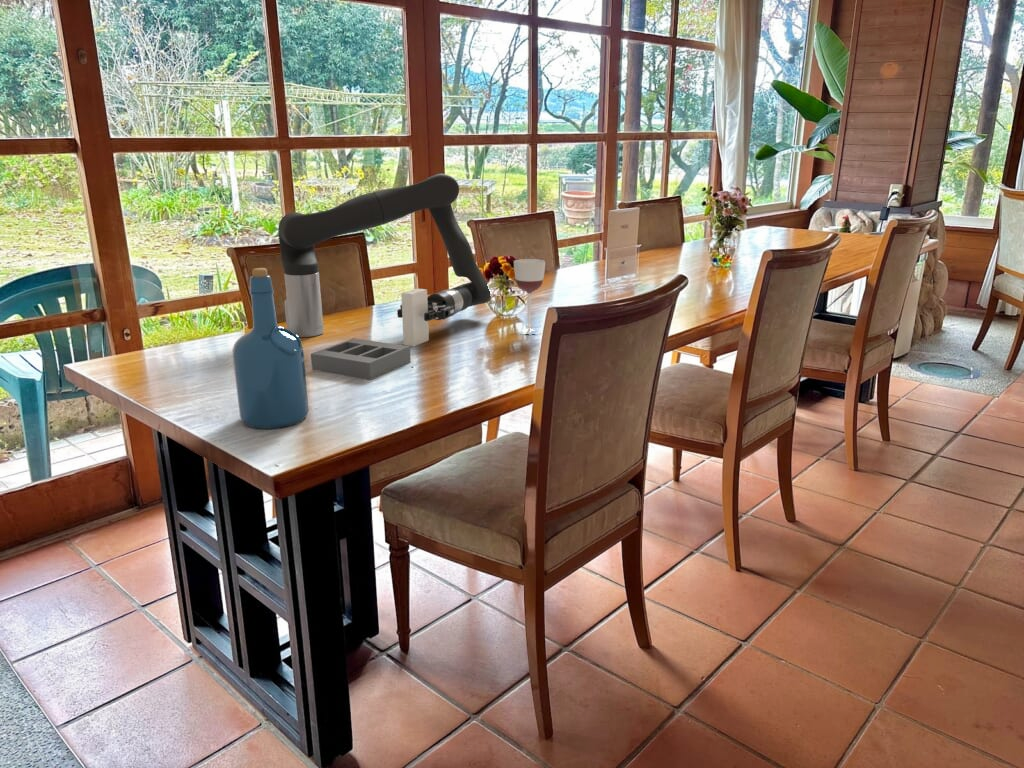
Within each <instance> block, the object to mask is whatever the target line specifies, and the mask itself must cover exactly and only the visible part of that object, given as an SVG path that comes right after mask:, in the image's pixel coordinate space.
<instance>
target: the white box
mask: <svg viewBox="0 0 1024 768" xmlns="http://www.w3.org/2000/svg"><path fill="white" fill-rule="evenodd" d="M400 295H401V305H402V318H401V320H402V335H403V336H402V338H403V339H402V340H403V345H404V346H410V347H416V346H419V345H422V344H423V343H426V342H428V341H429V340H430V336H429V335H430V334H429V333H430V332H429V329H430V328H429V321H425V320H424V313H426V312H428V301H427V298H428V289H425V288H413V289H409V290H406V291H403V292H401V293H400Z"/></svg>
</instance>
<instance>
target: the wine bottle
mask: <svg viewBox="0 0 1024 768" xmlns="http://www.w3.org/2000/svg"><path fill="white" fill-rule="evenodd" d="M251 274H252V275H251V276H250V277H249V294H250V296H251V310H252V314H251V315H252V325H253V326H252V328H251V330H250V331H249V332H247V333H245V334H244V335H242V336H241V337H239V338H238V339H237V340H236V341H235V343H234V344H233V347H232V350H231V353H232V360H233V362H232V363H233V369H234V370H233V371H234V378H235V386H236V394H237V405H238V410H239V416H240V417H239V418H240V421H241V422H242V424H243V425H244V426H247V427H250V428H253V429H271V430H272V429H277V428H285V427H290V426H292V425H295V424H297V423H300V422H302V421H303V420H304V419H305V418H306V417H307V416H308V414H309V409H310V408H309V401H308V389H307V377H306V365H305V356H304V354H305V353H304V348H303V343H302V340H301V337H298V336H297V335H296V334H295V333H293V332H292V331H290V330H288V329H287V327H283V326H278V322H277V314H276V313H277V312H276V306H275V298H274V293H275V290H274V287H273V282H272V277H271V275H270V274H268V269H267V268H265V267H256V268H253V269H251Z"/></svg>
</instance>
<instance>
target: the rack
mask: <svg viewBox="0 0 1024 768" xmlns="http://www.w3.org/2000/svg"><path fill="white" fill-rule="evenodd" d="M310 360H311V370H312V369H313V371H317V370H318V371H319V372H324V373H329V374H336V375H341V376H348V377H353V378H359V379H364V380H370V381H371V380H373V379H376V378H378V377H380V376H383V375H385V374H387V373H389V372H392V371H394V370H395V369H398V368H400V367H403V366H405V365H407V364H410V363H411V361H412V360H411V346H408V345H404V344H403V345H401V344H395V343H390V342H389V343H388V342H383V341H374V340H368V339H361V338H354V337H353V338H351V339H350V338H349V339H347V340H345V341H342V342H338V343H336V344H333V345H331V346H328V347H325V348H322V349H320V350H317V351H313V352H312V353H310Z"/></svg>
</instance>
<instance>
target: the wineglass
mask: <svg viewBox="0 0 1024 768" xmlns="http://www.w3.org/2000/svg"><path fill="white" fill-rule="evenodd" d="M545 269H546V261H545V260H543V259H538V258H521V259H516V260H513V270H514V271H513V272H514V277H515V283H516V285H517V287H518V288H519V289H520V290H522V291H524V292H526V293H527V328H523V329H524V330H522V331H523V332H531V331H535V330H533V329H534V328H531V323H532V321H531V319H532V317H531V316H532V315H531V310H532V308H531V307H532V306H531V305H532V303H531V302H532V300H531V297H532V295H531V294H532V293H533V292H535V291H537V290H538V289H540V288H541V287H542V285H543V282H544V278H545V271H546V270H545Z"/></svg>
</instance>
